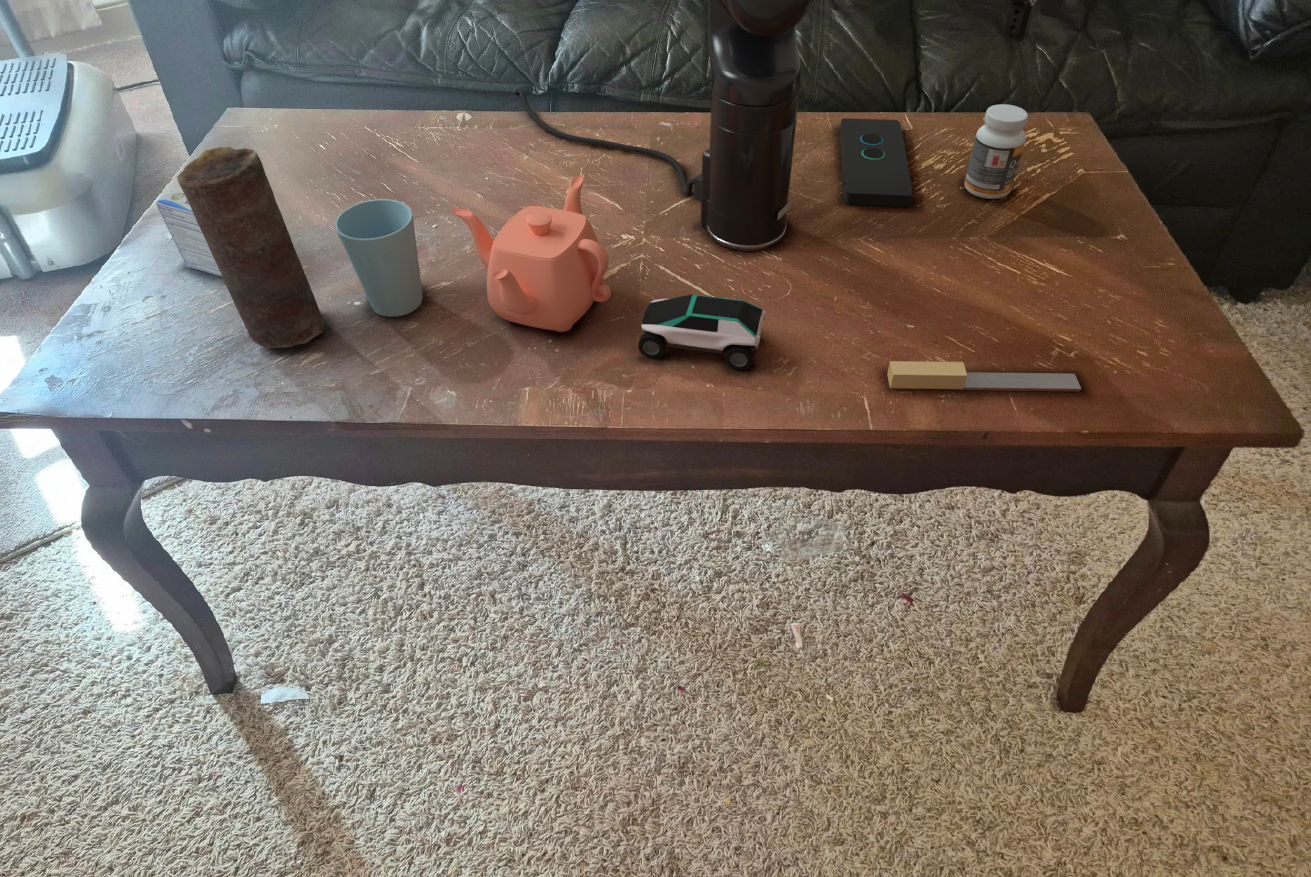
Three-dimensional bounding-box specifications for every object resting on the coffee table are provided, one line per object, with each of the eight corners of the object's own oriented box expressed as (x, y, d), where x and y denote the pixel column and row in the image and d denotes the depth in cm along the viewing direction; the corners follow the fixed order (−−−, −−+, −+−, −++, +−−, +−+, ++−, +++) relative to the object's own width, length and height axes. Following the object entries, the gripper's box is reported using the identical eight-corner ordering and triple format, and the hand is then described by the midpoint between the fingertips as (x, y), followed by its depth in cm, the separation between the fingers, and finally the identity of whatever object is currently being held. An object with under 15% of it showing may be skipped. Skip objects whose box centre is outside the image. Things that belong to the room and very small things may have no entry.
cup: (403, 331, 92) (378, 246, 85) (346, 312, 95) (318, 228, 87) (446, 292, 97) (427, 208, 90) (391, 275, 100) (368, 192, 92)
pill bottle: (1012, 202, 108) (1035, 125, 101) (963, 198, 109) (983, 121, 102) (1008, 179, 112) (1030, 103, 105) (962, 175, 113) (981, 100, 105)
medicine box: (264, 263, 102) (237, 196, 95) (237, 284, 99) (207, 216, 93) (213, 247, 104) (184, 181, 98) (185, 268, 101) (152, 201, 95)
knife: (890, 389, 85) (893, 375, 83) (886, 374, 86) (890, 360, 85) (1080, 391, 84) (1086, 377, 83) (1073, 376, 85) (1079, 362, 84)
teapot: (509, 364, 88) (492, 273, 80) (468, 289, 97) (449, 201, 90) (640, 324, 92) (635, 233, 85) (588, 255, 102) (580, 168, 94)
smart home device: (901, 118, 120) (914, 194, 106) (898, 130, 121) (912, 207, 107) (839, 116, 121) (845, 191, 107) (838, 128, 122) (843, 204, 108)
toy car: (755, 373, 87) (759, 330, 83) (637, 357, 89) (635, 315, 85) (764, 336, 91) (767, 294, 87) (651, 321, 93) (649, 279, 89)
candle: (284, 367, 89) (208, 188, 74) (236, 343, 91) (153, 166, 77) (340, 326, 93) (278, 150, 79) (292, 304, 96) (224, 131, 82)
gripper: (1074, -167, 90) (1029, 0, 101) (1008, -138, 83) (968, 38, 94) (1148, -156, 86) (1093, 16, 98) (1086, -125, 79) (1034, 57, 91)
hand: (1032, 27), depth 96 cm, fingers open, 8 cm apart
